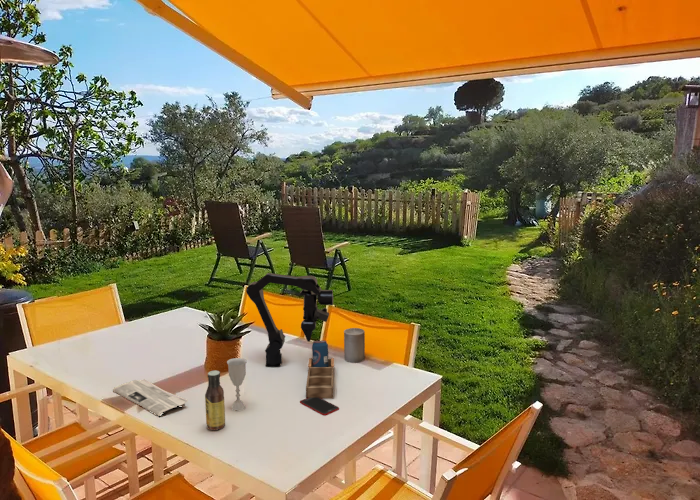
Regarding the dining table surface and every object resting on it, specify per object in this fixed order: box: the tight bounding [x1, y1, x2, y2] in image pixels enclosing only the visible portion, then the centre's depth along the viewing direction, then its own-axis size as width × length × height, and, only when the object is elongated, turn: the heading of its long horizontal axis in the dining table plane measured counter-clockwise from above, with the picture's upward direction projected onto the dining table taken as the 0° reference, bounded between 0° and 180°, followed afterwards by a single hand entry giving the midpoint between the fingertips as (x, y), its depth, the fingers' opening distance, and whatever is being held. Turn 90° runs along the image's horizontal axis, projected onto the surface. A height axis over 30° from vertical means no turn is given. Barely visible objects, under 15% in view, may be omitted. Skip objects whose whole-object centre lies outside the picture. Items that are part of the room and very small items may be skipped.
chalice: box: [226, 357, 248, 412], centre depth 183 cm, size 7×7×18 cm
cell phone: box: [299, 397, 340, 416], centre depth 187 cm, size 8×15×1 cm, turn 44°
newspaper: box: [112, 378, 189, 417], centre depth 191 cm, size 35×12×4 cm, turn 52°
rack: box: [305, 357, 335, 400], centre depth 207 cm, size 11×30×5 cm, turn 2°
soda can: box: [311, 340, 329, 367], centre depth 217 cm, size 7×7×12 cm
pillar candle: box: [343, 327, 366, 364], centre depth 232 cm, size 10×10×15 cm
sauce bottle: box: [204, 370, 226, 431], centre depth 169 cm, size 7×6×20 cm
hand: (309, 338), depth 224 cm, fingers open, 9 cm apart
